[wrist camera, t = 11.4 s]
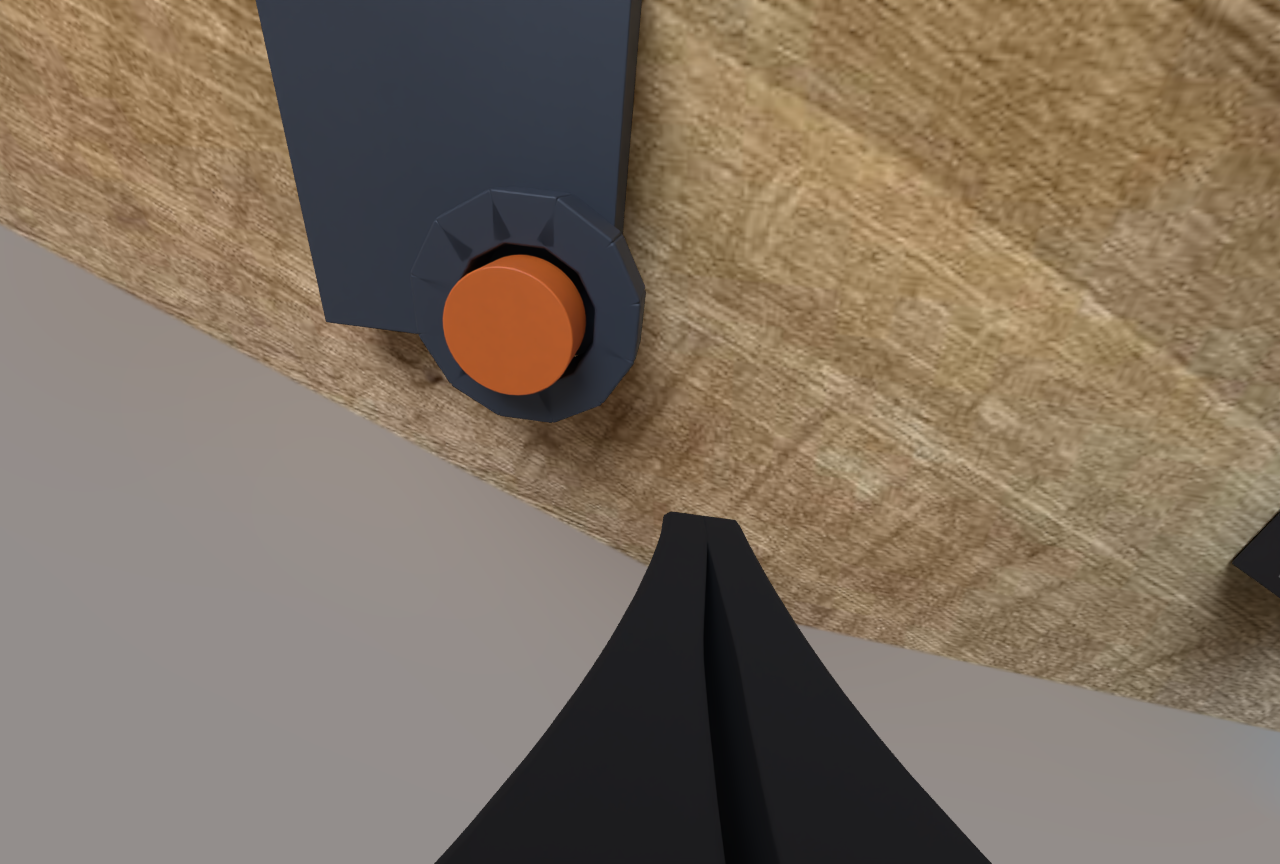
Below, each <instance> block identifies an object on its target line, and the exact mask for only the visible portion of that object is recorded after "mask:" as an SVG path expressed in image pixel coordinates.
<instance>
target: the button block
mask: <svg viewBox="0 0 1280 864" xmlns="http://www.w3.org/2000/svg"><path fill="white" fill-rule="evenodd" d="M641 3H642V0H256V4H257V9H258V13H259V18H260V22H261V27H262V31H263V36H264V41H265V45H266V50H267V54H268V59H269V63H270V68H271V73H272V77H273V82H274V86H275V91H276V95H277V100H278V105H279V109H280V114H281V118H282V123H283V127H284V132H285V137H286V141H287V146H288V150H289V155H290V159H291V164H292V169H293V173H294V178H295V182H296V187H297V191H298V196H299V201H300V205H301V210H302V214H303V219H304V223H305V228H306V233H307V237H308V242H309V246H310V251H311V255H312V260H313V265H314V269H315V274H316V278H317V283H318V287H319V292H320V297H321V301H322V306H323V310H324V315H325V319H326V322H330V323H338V324H345V325H353V326H361V327H368V328H376V329H383V330H391V331H399V332H406V333H414V334H419V337H420V339H421V340H422V342H423V343H424V345H425V346H426V348H427V349H428V351H429V352H430V354H431V355H432V357H433V358H434V360H435V361H436V363H437V364H438V366H439V367H440V369H441V370H442V372H443V373H444V375H445V376H446V378H447V380H448V381H449V382H450V383H452V386H453V387H455V388H457V389H458V390H460V391H461V392H463V393H464V394H466V395H468V396H469V397H471V398H472V399H474V400H475V401H477V402H479V403H480V404H482V405H483V406H485V407H486V408H488V409H489V410H491V411H493V412H494V413H496V414H497V415H500V416H505V417H512V418H520V419H527V420H535V421H542V422H549V423H552V422H557V421H560V420H563V419H565V418H568V417H571V416H573V415H576V414H579V413H581V412H584V411H587V410H589V409H592V408H595V407H597V406H600V405H601V404H602V403H603V402H605V400H606V399H607V398H608V396H609V395H610V394H611V393H612V391H613V390H614V389H615V387H616V386H617V385H618V384H619V382H620V381H621V380H622V378H623V377H624V376H625V375H626V373H627V372H628V371H629V369H630V368H631V367H632V366H633V364H634V360H635V359H636V355H637V352H638V348H639V344H640V341H641V332H642V322H643V313H644V304H645V295H646V292H645V285H644V283H643V280H642V278H641V276H640V273H639V271H638V269H637V266H636V264H635V262H634V259H633V257H632V255H631V252H630V250H629V247H628V245H627V243H626V240H625V238H624V236H623V223H624V211H625V199H626V186H627V174H628V162H629V150H630V138H631V125H632V113H633V101H634V89H635V76H636V64H637V52H638V40H639V28H640V15H641ZM510 255H530V256H535V257H538V258H541V259H544V260H546V261H548V262H550V263H552V264H553V265H555V266H556V267H558V268H559V269H560V270H561V271H563V272H564V273H565V274H566V275H567V276H568V277H569V278H570V279H571V281H572V282H573V284H574V285H575V286H576V288H577V290H578V292H579V293H580V296H581V298H582V301H583V304H584V308H585V314H586V328H585V334H584V338H583V340H582V343H581V345H580V347H579V349H578V350H577V352H576V354H575V355H578V356H576V357H573V359H572V360H571V362H570V363H569V365H568V367H567V368H566V370H565V372H564V373H563V374H562V376H561V377H560V378H559V379H558V380H557V381H556V382H555V383H554V384H552V385H551V386H549V387H548V388H546V389H544V390H542V391H540V392H537V393H533V394H528V395H508V394H503V393H499V392H496V391H493V390H491V389H488V388H486V387H484V386H483V385H481V384H479V383H478V382H476V381H475V380H474V379H472V378H471V377H470V376H469V375H468V374H467V373H465V371H464V370H463V369H462V368H461V367H460V366H459V364H458V363H457V362H456V360H455V359H454V357H453V355H452V354H451V352H450V350H449V347H448V345H447V342H446V339H445V335H444V329H443V312H444V307H445V303H446V300H447V297H448V295H449V293H450V291H451V290H452V288H453V287H454V286H455V284H456V283H457V282H458V281H459V280H460V279H461V278H463V277H464V276H465V275H467V274H468V273H470V272H472V271H474V270H476V269H478V268H480V267H483V266H485V265H487V264H489V263H491V262H493V261H495V260H498V259H500V258H503V257H506V256H510Z"/></svg>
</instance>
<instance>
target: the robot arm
mask: <svg viewBox="0 0 1280 864" xmlns="http://www.w3.org/2000/svg"><path fill="white" fill-rule="evenodd" d="M434 864H992V863H991V862H990V861H989V860H988V859H987V858H986V857H985V856H984V855H983V854H982V853H981V852H980V850H979V849H978V848H977V847H976V846H975V845H974V844H973V843H972V842H971V841H970V839H969V838H968V837H967V836H966V835H965V834H964V833H963V832H962V831H961V830H960V828H959V827H958V826H957V825H956V824H955V823H954V822H953V821H952V820H951V819H950V818H949V817H948V815H947V814H946V813H945V812H944V811H943V810H942V809H941V808H940V807H939V806H938V804H936V802H935V801H934V800H933V799H932V798H931V797H930V796H929V794H928V793H927V792H926V791H925V790H924V789H923V788H922V787H921V786H920V785H919V783H918V782H917V781H916V780H915V779H914V778H913V777H912V776H911V775H910V773H909V772H908V771H907V770H906V769H905V768H904V766H903V765H902V764H901V763H900V762H899V761H898V759H897V758H896V757H895V756H894V754H893V753H892V752H891V751H890V750H889V748H888V747H887V746H886V745H885V744H884V742H883V741H881V739H880V738H879V737H878V735H877V734H876V733H875V732H874V730H873V729H872V728H871V726H870V725H869V724H868V723H867V721H866V720H865V719H864V718H863V717H862V715H861V714H860V713H859V711H858V710H857V709H856V708H855V706H854V705H853V704H852V702H851V701H850V700H849V698H848V697H847V696H846V695H845V694H844V692H843V691H842V689H841V688H840V687H839V685H838V684H837V683H836V681H835V680H834V678H833V677H832V676H831V674H830V673H829V672H828V670H827V669H826V667H825V666H824V664H823V663H822V662H821V660H820V659H819V657H818V656H817V654H816V653H815V652H814V650H813V649H812V647H811V646H810V644H809V643H808V641H807V640H806V638H805V637H804V635H803V634H802V632H801V631H800V629H799V628H798V626H797V625H796V623H795V622H794V620H793V618H792V617H791V615H790V614H789V612H788V610H787V609H786V607H785V606H784V604H783V602H782V601H781V599H780V598H779V596H778V594H777V593H776V591H775V589H774V588H773V586H772V584H771V583H770V581H769V579H768V577H767V576H766V574H765V572H764V570H763V569H762V567H761V565H760V563H759V561H758V560H757V558H756V556H755V554H754V552H753V550H752V549H751V547H750V545H749V543H748V541H747V539H746V537H745V535H744V533H743V531H742V529H741V527H740V525H739V524H738V523H737V521H736V520H731V519H724V518H716V517H709V516H701V515H694V514H686V513H679V512H671V511H670V512H669V513H667V514H665V515H664V517H663V523H662V530H661V534H660V538H659V541H658V544H657V547H656V549H655V552H654V555H653V557H652V560H651V562H650V564H649V566H648V569H647V571H646V573H645V575H644V577H643V579H642V581H641V583H640V586H639V588H638V590H637V592H636V594H635V596H634V598H633V600H632V601H631V603H630V605H629V607H628V609H627V610H626V612H625V614H624V615H623V618H622V619H621V621H620V623H619V624H618V626H617V628H616V630H615V631H614V633H613V635H612V636H611V638H610V640H609V641H608V643H607V645H606V646H605V648H604V649H603V651H602V653H601V654H600V656H599V657H598V659H597V660H596V662H595V663H594V665H593V667H592V668H591V670H590V671H589V672H588V674H587V675H586V677H585V678H584V680H583V681H582V683H581V684H580V686H579V687H578V689H577V690H576V691H575V693H574V694H573V695H572V697H571V698H570V699H569V701H568V702H567V704H566V705H565V706H564V708H563V709H562V710H561V712H560V713H559V714H558V716H557V717H556V718H555V720H554V721H553V723H552V724H551V725H550V727H549V728H548V729H547V731H546V732H545V733H544V735H543V736H542V737H541V739H540V740H539V741H538V742H537V744H536V745H535V746H534V747H533V749H532V750H531V751H530V753H529V754H528V755H527V756H526V758H525V759H524V760H523V761H522V762H521V764H520V765H519V766H518V767H517V768H516V770H515V771H514V772H513V773H512V774H511V775H510V777H509V778H508V779H507V780H506V781H505V783H504V784H503V785H502V786H501V787H500V789H499V790H498V791H497V792H496V793H495V795H494V796H493V797H492V798H491V799H490V801H489V802H488V803H487V804H486V805H485V807H484V808H483V809H482V810H481V811H480V813H479V814H478V815H477V816H476V818H475V819H474V820H473V821H472V822H471V823H470V824H469V826H468V827H467V828H466V829H465V830H464V831H463V833H462V834H461V835H460V836H459V837H458V838H457V839H456V841H455V842H454V843H453V844H452V845H451V846H450V847H449V848H448V849H447V850H446V851H445V853H444V854H443V855H442V856H441V857H440V858H439V859H438V860H437V862H435V863H434Z"/></svg>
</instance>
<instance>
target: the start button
mask: <svg viewBox="0 0 1280 864" xmlns="http://www.w3.org/2000/svg"><path fill="white" fill-rule="evenodd" d="M585 328H586V314H585V308H584V304H583V301H582V298H581V296H580V293H579V292H578V290H577V288H576V286H575V285H574V284H573V282H572V281H571V279H570V278H569V277H568V276H567V275H566V274H565V273H564V272H563V271H561V270H560V269H559V268H558V267H556V266H555V265H553V264H552V263H550V262H548V261H546V260H544V259H541V258H538V257H535V256H530V255H510V256H506V257H503V258H500V259H498V260H495V261H493V262H491V263H489V264H487V265H485V266H483V267H480V268H478V269H476V270H474V271H472V272H470V273H468V274H467V275H465V276H464V277H463V278H461V279H460V280H459V281H458V282H457V283H456V284H455V286H454V287H453V288H452V290H451V291H450V293H449V295H448V297H447V300H446V303H445V307H444V312H443V329H444V335H445V339H446V342H447V345H448V347H449V350H450V352H451V354H452V355H453V357H454V359H455V360H456V362H457V363H458V364H459V366H460V367H461V368H462V369H463V370H464V371H465V373H467V374H468V375H469V376H470V377H471V378H472V379H474V380H475V381H476V382H478V383H479V384H481V385H483V386H484V387H486V388H488V389H491V390H493V391H496V392H499V393H503V394H508V395H528V394H533V393H537V392H540V391H542V390H544V389H546V388H548V387H549V386H551V385H552V384H554V383H555V382H556V381H557V380H558V379H559V378H560V377H561V376H562V374H563V373H564V372H565V370H566V368H567V367H568V365H569V363H570V362H571V360H572V359H573V357H574V355H575V354H576V352H577V350H578V349H579V347H580V345H581V343H582V340H583V338H584V334H585Z"/></svg>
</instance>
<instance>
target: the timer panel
mask: <svg viewBox="0 0 1280 864" xmlns="http://www.w3.org/2000/svg"><path fill="white" fill-rule="evenodd" d="M1232 564H1233V565H1235V566H1236V567H1237V568H1239V569H1240V570H1242V571H1243V572H1244V573H1246V574H1247V575H1249V576H1250V577H1251V578H1253V579H1254V580H1256V581H1257V582H1258V583H1260V584H1261V585H1262V586H1264V587H1265V588H1267V589H1268V590H1269V591H1271V592H1272V593H1274V594H1275V595H1276V596H1278V597H1279V598H1280V513H1279V514H1278V515H1277V516H1276V517H1275V518H1274V519H1273V520H1272V521H1271V522H1270V523H1269V524H1268V525H1267V526H1266V527H1265V528H1264V529H1263V530H1262V531H1261V532H1260V533H1259V534H1258V535H1257V536H1256V537H1255V538H1254V540H1253V541H1252V542H1251V543H1250V544H1249V545H1248V546H1247V547H1246V548H1245V549H1244V550H1243V551H1242V552H1241V553H1240V554H1239V555H1238V556H1237V557H1236V558H1235V559H1234V560H1233V561H1232Z"/></svg>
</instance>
